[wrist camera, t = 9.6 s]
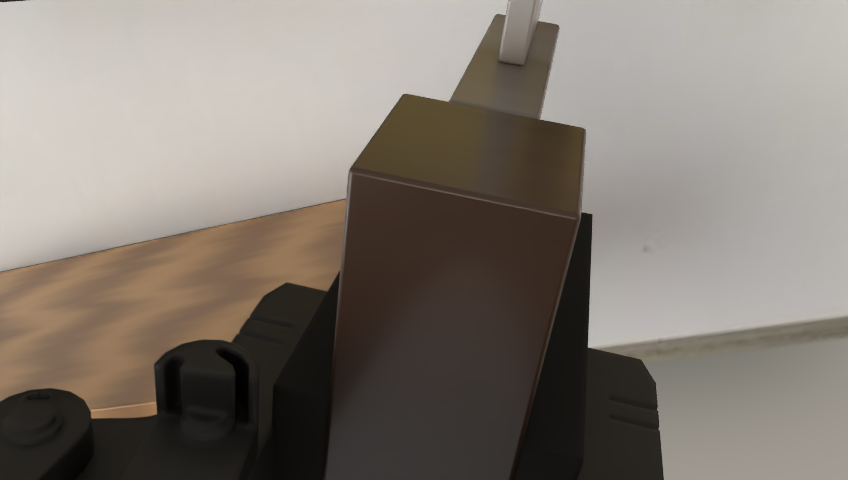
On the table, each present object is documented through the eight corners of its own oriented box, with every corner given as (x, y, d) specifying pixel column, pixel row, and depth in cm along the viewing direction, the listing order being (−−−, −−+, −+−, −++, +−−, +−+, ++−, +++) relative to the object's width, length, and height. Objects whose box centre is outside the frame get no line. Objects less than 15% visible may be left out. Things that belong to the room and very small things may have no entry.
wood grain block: (45, 361, 45) (-160, 562, 33) (-9, 273, 42) (-252, 455, 30) (435, 299, 37) (354, 529, 25) (396, 187, 35) (286, 384, 23)
